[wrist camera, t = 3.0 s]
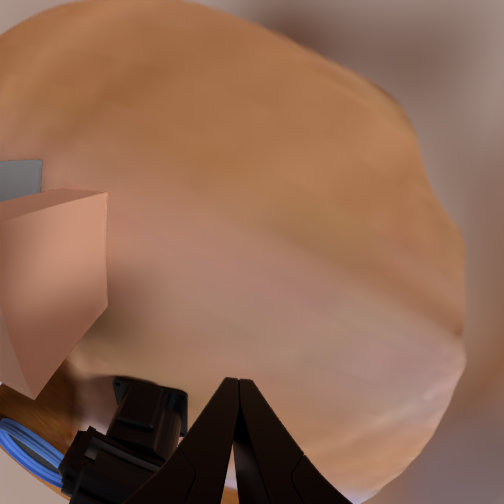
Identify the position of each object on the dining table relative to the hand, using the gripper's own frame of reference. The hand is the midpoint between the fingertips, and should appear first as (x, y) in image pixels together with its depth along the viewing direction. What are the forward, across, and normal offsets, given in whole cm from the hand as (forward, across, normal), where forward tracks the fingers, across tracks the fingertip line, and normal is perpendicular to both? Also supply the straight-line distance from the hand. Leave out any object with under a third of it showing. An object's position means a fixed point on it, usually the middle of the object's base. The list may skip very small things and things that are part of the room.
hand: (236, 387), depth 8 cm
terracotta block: (+10, +11, 0) cm, 15 cm away
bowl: (+10, +30, +39) cm, 50 cm away
